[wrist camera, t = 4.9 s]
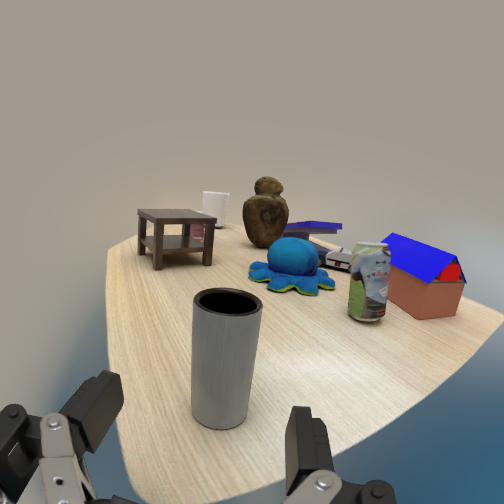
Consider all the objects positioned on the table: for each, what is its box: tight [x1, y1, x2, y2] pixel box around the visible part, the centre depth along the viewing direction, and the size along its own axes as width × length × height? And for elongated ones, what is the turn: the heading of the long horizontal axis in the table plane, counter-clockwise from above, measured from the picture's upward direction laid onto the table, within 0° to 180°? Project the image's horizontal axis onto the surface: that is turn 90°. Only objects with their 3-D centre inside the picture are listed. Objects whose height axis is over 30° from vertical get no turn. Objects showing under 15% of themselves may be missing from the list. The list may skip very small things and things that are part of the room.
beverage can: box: [348, 242, 391, 321], centre depth 41 cm, size 6×7×12 cm
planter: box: [191, 288, 263, 430], centre depth 20 cm, size 4×4×10 cm
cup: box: [203, 191, 230, 229], centre depth 105 cm, size 10×10×13 cm
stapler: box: [280, 221, 342, 252], centre depth 90 cm, size 12×28×10 cm, turn 21°
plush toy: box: [248, 237, 335, 296], centre depth 57 cm, size 17×17×8 cm
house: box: [380, 233, 466, 320], centre depth 51 cm, size 12×20×12 cm, turn 11°
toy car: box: [318, 248, 352, 274], centre depth 69 cm, size 5×16×5 cm, turn 66°
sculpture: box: [243, 177, 289, 247], centre depth 81 cm, size 13×8×20 cm, turn 101°
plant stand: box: [138, 209, 217, 270], centre depth 60 cm, size 13×13×10 cm
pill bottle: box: [190, 211, 205, 242], centre depth 80 cm, size 5×5×8 cm
